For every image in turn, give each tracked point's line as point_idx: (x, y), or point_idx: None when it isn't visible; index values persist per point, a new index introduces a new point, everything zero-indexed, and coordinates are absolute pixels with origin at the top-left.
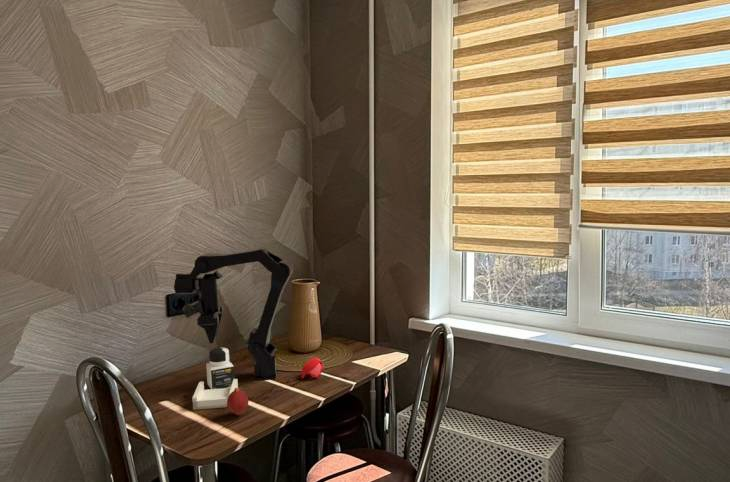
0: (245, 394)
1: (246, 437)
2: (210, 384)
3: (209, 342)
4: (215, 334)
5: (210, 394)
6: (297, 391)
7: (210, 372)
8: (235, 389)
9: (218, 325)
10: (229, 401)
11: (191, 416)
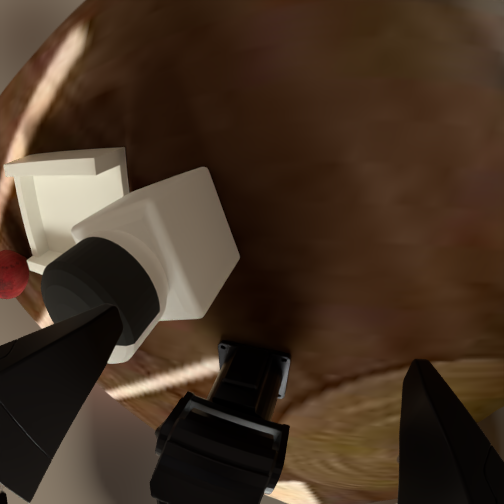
0: (2, 298)
1: None
2: (136, 191)
3: (100, 305)
4: (77, 399)
5: (84, 194)
6: (137, 384)
7: (85, 219)
8: None
9: (398, 496)
10: None
11: (10, 159)
